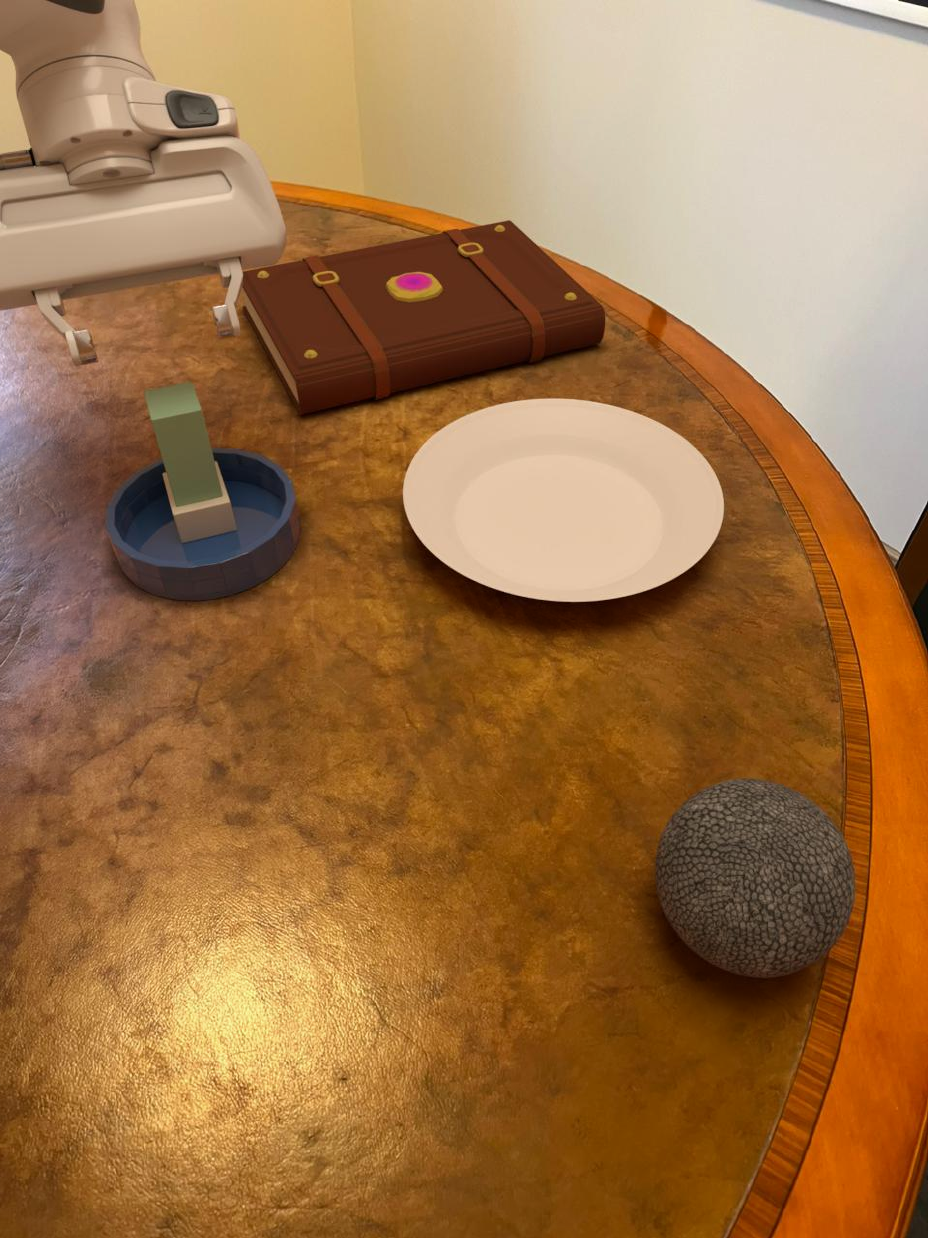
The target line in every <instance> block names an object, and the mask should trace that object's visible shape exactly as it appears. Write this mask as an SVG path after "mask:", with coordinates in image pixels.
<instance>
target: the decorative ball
mask: <svg viewBox="0 0 928 1238" xmlns="http://www.w3.org/2000/svg"><path fill="white" fill-rule="evenodd" d="M656 848H657V849H656V854H655V861H654V862H655V864H654V878H655V879H654V880H655V888H656V892H657V897H658V901H659V904H660V905H661V908H662V911H663V913H664V915H665V917H666V919H667V921H668V923H669V924H670V926H671V928H672V929H673V931H674V932H675V933H676V935H677V936H678V937H679V938H680V939H681V941H683V943H684V944H685V945H686V946H687V947H688V948H689V949H690V950H691V951H693V952H694V953H695V954H696V955H698V956H699V957H700V958H702V959H703V960H705V961H706V962H708V963H709V964H711V965H712V966H715V967H716V968H719V969H721V970H723V971H727V972H729V973H731V974H736V975H738V976H744V977H750V978H758V979H759V978H761V979H767V978H768V979H769V978H777V977H783V976H787V975H790V974H794V973H796V972H800V971H801V970H804V969H806V968H808V967H810V966H812V965H813V964H815V963H817V962H818V961H820V960H821V959H822V958H823V957H824V956H825V955H827V954H828V953H829V952H830V951H831V950H832V949H833V948H834V947H835V946H836V944H837V943H838V942H839V940H840V938H841V937H842V936H843V934H844V932H845V931H846V929H847V927H848V925H849V922H850V920H851V917H852V913H853V910H854V905H855V899H856V898H855V897H856V875H855V868H854V861H853V858H852V855H851V852H850V849H849V846H848V843H847V842H846V840H845V837H844V836H843V834H842V833H841V831H840V829H839V828H838V827H837V825H836V824H835V822H834V821H833V820H832V818H830V816H829V815H828V814H827V813H826V812H825V811H824V810H823V809H822V808H821V807H820V806H819V805H818V804H817V803H815V802H814V801H812V800H811V799H810V798H808V797H807V796H806V795H804V794H802V793H800V792H799V791H797V790H795V789H793V788H790V787H788V786H786V785H783V784H780V783H777V782H774V781H770V780H765V779H760V778H748V777H745V778H733V779H727V780H724V781H721V782H716V783H714V784H712V785H710V786H708V787H705V788H703V789H701V790H700V791H698V792H696V793H694V794H693V795H692V796H690V797H689V798H688V799H686V800H685V801H684V802H683V803H682V804H681V805H680V806H679V807H678V808H677V809H676V811H675V812H674V813H673V814H672V816H671V817H670V818H669V820H668V821H667V822H666V825H665V827H664V829H663V831H662V832H661V836H660V838H659V841H658V844H657V847H656Z"/></svg>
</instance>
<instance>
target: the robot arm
mask: <svg viewBox="0 0 928 1238" xmlns="http://www.w3.org/2000/svg"><path fill="white" fill-rule="evenodd" d="M141 32H142V31H141V21H140V17H139V13H138V9H137V6H136V2H135V0H0V51H2V52H3V53H5V54H6V55H8V56H10V58H11V60H12V62H13V65H14V70H15V94H16V95H15V96H16V100H17V103H18V107H19V111H20V113H21V117H22V121H23V125H24V128H25V132H26V135H27V139H28V142H29V146H30V147H29V149H22V150H14V151H8V152H3V153H0V311H1V312H2V311H8V310H14V309H19V308H24V307H25V308H26V307H31V306H37V307H38V310H39V311H40V314H41V316H42V317H43V319H44V320H45V322H47V324H49V325H50V327H52V328H53V329H54V330H55V331H56V332H57V333H58V334H59V335H60V336H61V337H62V338H63V339H64V340H65V341H66V342H67V346H68V351H69V353H70V357H71V359H72V362H73V364H74V366H75V367H78V366H79V367H80V366H84V365H89V364H95V363H99V358H98V354H97V352H96V350H95V344H94V340H93V337H92V335H91V332H90V331H89V329H81V330H75V329H74V328H73V327H72V326H71V325H70V324H69V323H68V321H66V320H65V318H63V317H65V316H66V315H67V312H66V308H65V305H64V301H66V300H72V299H78V298H84V297H90V296H96V295H101V294H102V295H103V294H108V293H114V292H121V291H125V290H131V289H137V288H144V287H149V286H155V285H162V284H166V283H168V284H169V283H172V282H180V281H184V280H190V279H196V278H202V277H208V276H214V275H215V276H216V275H218V277H219V280H220V284H221V286H222V288H223V289H227V288H228V289H227V292H226V295H225V300H224V303H223V304H221V305H216V306H212V307H211V308H212V318H213V322H214V325H215V326H216V333H217V336H218V340H222V339H227V338H228V339H229V338H235V337H239V336H241V334H242V333H241V325H240V321H239V316H238V313H237V307H238V303H239V300H240V297H241V292H242V290H243V288H242V286H243V271H245V270H251V269H257V268H263V267H269V266H274V265H277V264H278V263H279V261H280V259H282V256H283V254H284V252H285V249H286V246H287V238H288V236H287V235H288V234H287V229H286V224H285V220H284V216H283V214H282V211H281V208H280V207H281V206H280V205H279V202H278V199H277V196H276V192H275V191H274V188H273V185H272V182H271V181H270V178H269V176H268V173H267V171H266V169H265V167H264V165H263V162H262V160H261V159H260V157H259V156H258V154H257V152H256V151H255V150H254V149H253V147H252V146H251V145H250V144H249V143H247V141H246V142H245V141H244V140H243V139H241V138H240V128H239V121H238V117H237V113H236V109H235V107H234V104H233V101H231V100H230V99H229V98H228V97H226V96H223V95H220V94H216V93H212V92H205V91H199V90H194V89H189V88H184V87H178V86H174V85H170V84H167V83H162V82H158V81H157V79H156V76H155V74H154V72H153V70H152V69H151V66H150V65H149V64H148V62H147V60H146V59H145V56H144V54H143V50H142V46H141Z"/></svg>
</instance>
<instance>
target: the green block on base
mask: <svg viewBox="0 0 928 1238" xmlns="http://www.w3.org/2000/svg"><path fill="white" fill-rule="evenodd" d="M143 395H144V400H145V402H146V406H147V411H148V415H149V419H150V421H151V426H152V429H153V432H154V434H155V439H156V442H157V445H158V449H159V452H160V455H161V456H160V457H161V459H163V463H164V466H165V469H166V472H165V473H163V478H164V482H165V486H166V490H167V493H168V497H169V501H170V505H171V509H172V513H173V516H174V520H175V523H176V526H177V530H178V533H179V536H180V540H181V543H186V542H191V541H195V540H199V539H203V538H207V537H211V536H215V535H220V534H224V533H228V532H232V531H236V530H237V528H236V524H235V519H234V515H233V511H232V507H231V503H230V499H229V496H228V493H227V490H226V487H225V484H224V481H223V478H222V475H221V472H220V469H219V466H218V463H217V461H215V462H214V457H213V453H212V449H211V448H212V446H211V441H210V438H209V437H210V436H209V433H208V430H207V425H206V421H205V417H204V412H203V409H202V406H201V404H200V400H199V396H198V394H197V391H196V388H195V385H194V382H193V381H186V382H182V383H177V384H173V385H169V386H163V387H157V388H153V389H148V390H143Z"/></svg>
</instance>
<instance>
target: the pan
mask: <svg viewBox="0 0 928 1238" xmlns="http://www.w3.org/2000/svg"><path fill="white" fill-rule="evenodd" d="M211 449H212V453H213V457H214V462H215V461H217V463H218V466H219V469H220V472H221V475H222V478H223V481H224V484H225V487H226V490H227V493H228V496H229V499H230V503H231V507H232V511H233V515H234V519H235V524H236V528H237V530H236V531H232V532H228V533H224V534H220V535H215V536H211V537H207V538H203V539H199V540H195V541H191V542H186V543H181V540H180V536H179V533H178V530H177V526H176V523H175V520H174V516H173V513H172V509H171V505H170V501H169V497H168V493H167V490H166V486H165V482H164V478H163V473H165V472H166V469H165V466H164V463H163V459H162V458H160V459H157V460H155V461H153V462H151V463H150V464H148V465H145V466H144V467H143V468H141V469H139V470H136V472H134V473H133V474H131V475H130V476H129V477H128V478H127V479H125V481H123V482H122V483H121V484H120V486H118V487H117V488H116V490H115V491H114V493H113V495H112V497H111V499H110V501H109V502H108V504H107V506H106V509H105V523H104V527H105V531H106V533H107V536H108V539H109V541H110V544H111V546H112V550H113V552H114V555H115V557H116V559H117V561H118V563H119V565H120V569H121V570H122V571H123V573H124V575H125V576H126V578H128V579H129V580H130V581H131V583H133V584H134V585H135V586H137V587H139V588H140V589H141V590H143V591H145V592H146V593H149V594H152V595H155V596H157V597H161V598H165V599H169V600H175V601H188V602H190V601H191V602H196V601H208V600H214V599H215V600H216V599H222V598H226V597H228V596H233V595H237V594H239V593H242V592H245V591H247V590H250V589H252V588H254V587H255V586H258V585H260V584H261V583H263V582H265V581H266V580H269V578H271V577H273V575H275V574H276V573H277V572H279V570H281V569H282V568H283V567H284V566H285V565H286V563H287V562H288V561H289V560H290V558H291V557H292V556H293V554H294V553H295V551H296V548H297V547H298V543H299V540H300V537H301V523H300V517H299V510H298V505H297V499H296V498H297V497H296V492H295V486H294V482H293V480H292V479H291V478H290V476H289V475H288V473H286V471H285V470H284V469H283V467H282V465H280V464H278V463H276V462H275V461H273V460H271V458H268V457H267V456H265V455H263V454H258V453H255V452H251V451H247V450H245V449H244V450H243V449H242V448H241V449H240V448H231V447H230V448H228V447H211Z"/></svg>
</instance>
